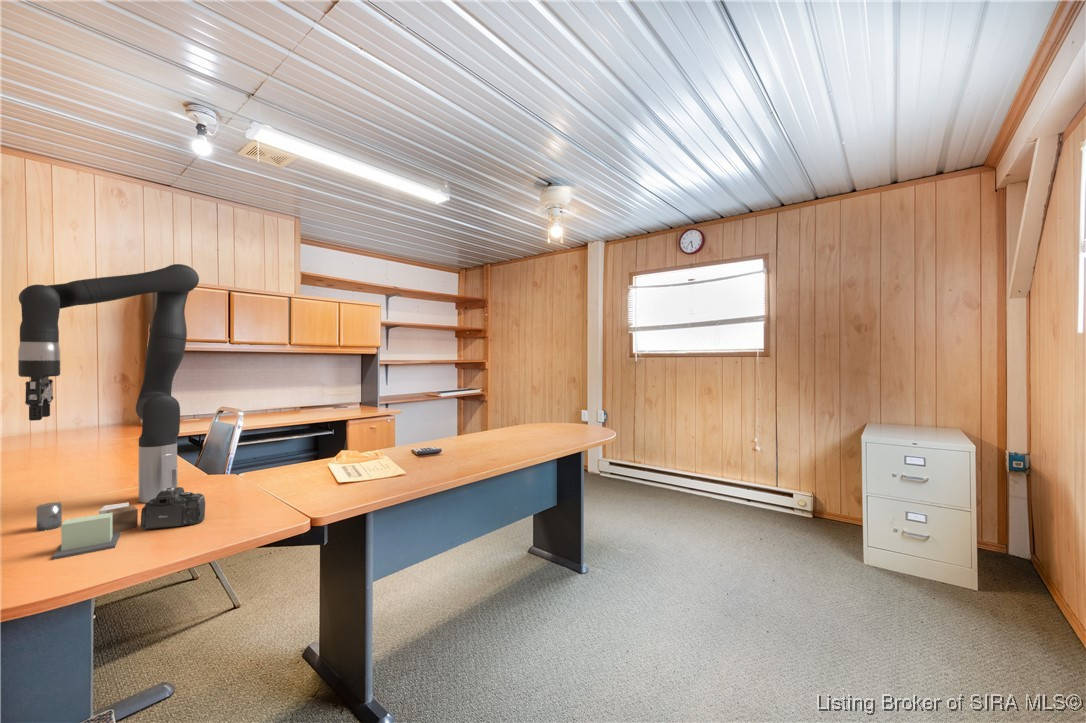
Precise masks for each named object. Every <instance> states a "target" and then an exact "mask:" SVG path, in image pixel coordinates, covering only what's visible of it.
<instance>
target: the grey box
mask: <svg viewBox="0 0 1086 723" xmlns="http://www.w3.org/2000/svg"><path fill="white" fill-rule="evenodd" d="M126 506H130V503H129V502H128V501H127V502H122V503H116V504H107V505H103V507H102V508H100V509H99V511H98V515H99V514H106V513H107V510H111V509H116V508H121V507H126Z"/></svg>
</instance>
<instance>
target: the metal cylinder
mask: <svg viewBox="0 0 1086 723" xmlns="http://www.w3.org/2000/svg"><path fill="white" fill-rule="evenodd" d="M62 506H63V504H62V502H60V501H58V502H48V503H43V504H39V505H38V506H36V531H37V530H38V531H37V532H45V530H47V531H51V530H57V529H59V528H60V527H61V525H62V523H63V522H62V521H63V520H62V518H63V514H62V513H63V511H62V508H63V507H62Z"/></svg>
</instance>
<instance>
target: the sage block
mask: <svg viewBox="0 0 1086 723" xmlns="http://www.w3.org/2000/svg"><path fill="white" fill-rule="evenodd" d="M60 531H61V532H60V533H61V534H60V535H61V540H60V541H61V542H60V545H61V551H64V550H69V549H75V548H80V547H86V546H91V545H96V544H102V543H107V542H110V541H111V539H112V537H113V530H112V513H106V514H99V513H98V514H95V515H87V516H80V517H73V518H68V519H64V521H63V522H62V525H61V528H60Z"/></svg>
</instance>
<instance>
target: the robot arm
mask: <svg viewBox="0 0 1086 723" xmlns="http://www.w3.org/2000/svg"><path fill="white" fill-rule="evenodd" d="M199 281H200V278H199V274H198V273H197V271H196V270H195V269H194V268H192V267H191V266H190V265H189V266H188V265H186V264H183V263H182V264H181V263H180V264H179V263H175V264H170V265H168V266H165V267H162V268H158V269H155V270H151V271H147V272H146V271H145V272H139V273H133V274H132V273H131V274H124V275H114V276H113V275H112V276H104V277H103V276H102V277H94V278H93V277H92V278H86V279H79V280H72V281H69V282H66V283H56V284H49V285H45V284H31V285H29V286H27V287H25V288H24V289H22V290H21V291H20V293H19V295H18V301H19V303H20V305H21V306H20V307H21V323H20V325H19V346H18V350H17V351H18V352H17V355H18V356H17V357H18V358H17V359H18V360H17V362H18V364H17V365H18V367H17V369H18V370H17V372H18V374H17V375H18V376H19V377H22V378H30V380H29V381H26V382H25V383H24V384H25V402H24V403H25V405H26V406H27V407H28V420H29V421H41V420H42V419H43V418H47V417H50V416H51V403H52V401H53V399H54V396H53V395H54V394H53V393H54V391H53V390H54V389H53V388H54V386H53V382H54V381H53V379H49V378H50V377H59V376H61V348H60V336H59V335H60V334H59V333H60V330H59V318H60V310H61V309H66V308H70V307H74V306H75V307H76V306H84V305H85V306H86V305H95V304H99V303H100V304H101V303H108V302H113V301H117V300H123V299H126V298H131V297H134V296H135V297H136V296H141V295H145V294H153V293H154V294H155V293H156V305H155V310H154V314H153V317H152V321H151V326H150V331H149V335H148V340H147V341H148V342H147V346H146V347H147V348H146V349H147V350H146V355H145V364H144V375H143V376H144V377H143V381H142V384H141V387H140V391H139V395H138V396H137V397H138V398H137V401H136V404H135V412H136V415H137V416H138V417H139V418H140V419H141V420H142V422H141V426H142V428H141V434H140V436H139V438H138V502H139V503H143V504H144V503H145V504H146V503H148V502H149V500H151V499H154V498H156V497H157V495H158V494H159V493H160V492H161V491H162V490H163V489H165V488H172V487H178V436H179V434H180V428H181V406H180V403H179V400H177V398H175V397H174V396H172V388H173V381H174V378H175V375H176V372H177V371H178V369H179V366H180V365H181V362H182V360H183V358H184V354H185V350H186V345H187V337H188V330H187V323H186V316H185V315H186V314H185V308H186V303H187V300H188V296H189V293H190V292H191V291H193V290H195V289H196V288H197V286H198V285H199Z"/></svg>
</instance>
